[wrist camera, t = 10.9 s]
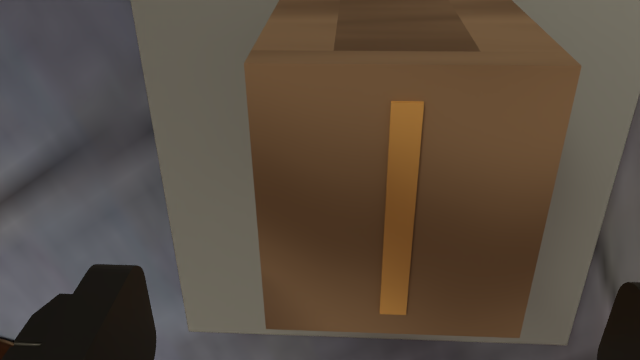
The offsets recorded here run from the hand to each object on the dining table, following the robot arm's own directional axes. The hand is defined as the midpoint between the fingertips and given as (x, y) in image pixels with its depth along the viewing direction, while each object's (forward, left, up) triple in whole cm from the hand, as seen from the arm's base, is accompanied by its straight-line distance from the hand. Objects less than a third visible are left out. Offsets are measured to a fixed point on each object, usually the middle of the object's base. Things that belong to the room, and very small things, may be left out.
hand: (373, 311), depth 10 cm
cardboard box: (+1, 0, -8) cm, 8 cm away
